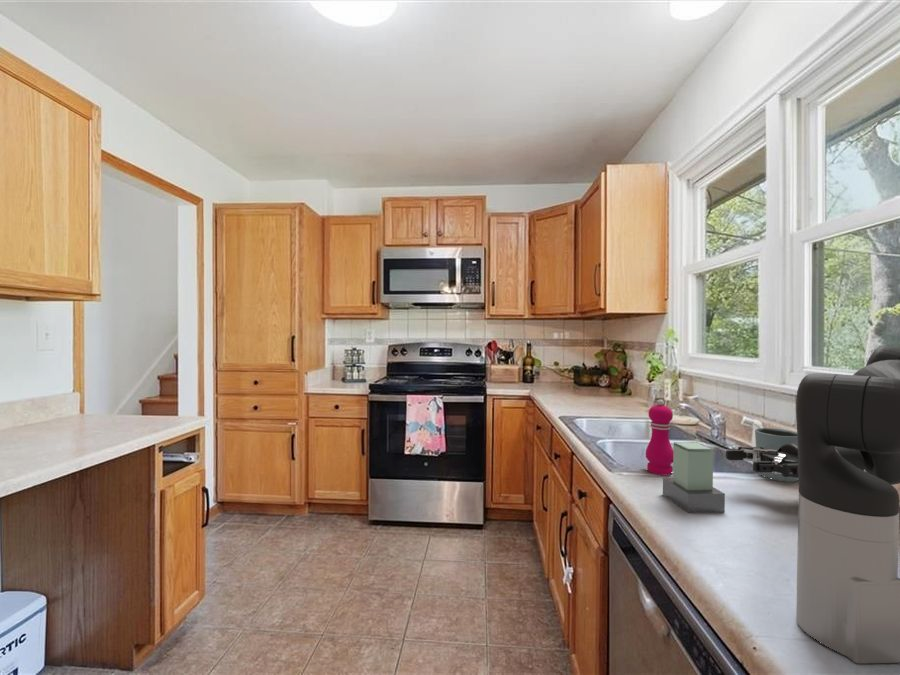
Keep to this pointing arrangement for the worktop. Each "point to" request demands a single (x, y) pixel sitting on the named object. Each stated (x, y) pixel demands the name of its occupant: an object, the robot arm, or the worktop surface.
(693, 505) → the grey step block
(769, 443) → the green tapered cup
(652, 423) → the pepper mill
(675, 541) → the worktop surface
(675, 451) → the tall mint pillar
